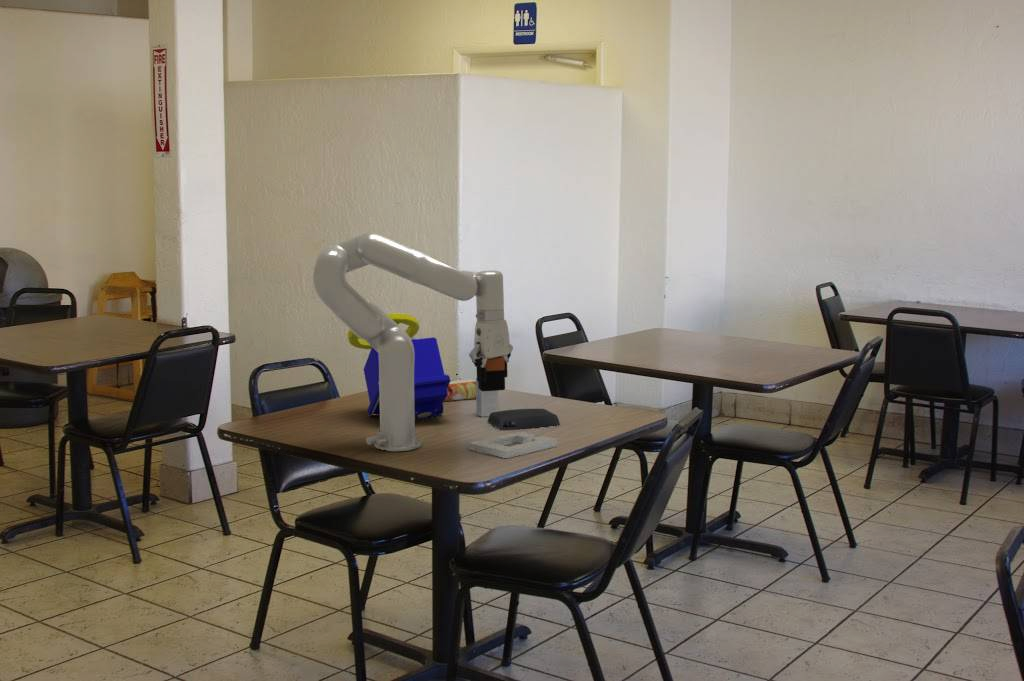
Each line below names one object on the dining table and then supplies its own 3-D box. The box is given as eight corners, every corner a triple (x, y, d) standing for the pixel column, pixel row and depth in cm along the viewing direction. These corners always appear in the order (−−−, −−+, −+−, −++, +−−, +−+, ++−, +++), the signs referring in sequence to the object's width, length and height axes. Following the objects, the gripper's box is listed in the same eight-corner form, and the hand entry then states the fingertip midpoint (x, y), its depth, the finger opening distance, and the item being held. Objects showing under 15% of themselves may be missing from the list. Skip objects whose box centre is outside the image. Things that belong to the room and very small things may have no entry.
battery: (505, 390, 307) (504, 354, 305) (481, 391, 305) (480, 355, 303) (501, 387, 311) (500, 352, 309) (478, 389, 309) (477, 353, 308)
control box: (459, 398, 330) (438, 307, 340) (371, 410, 321) (352, 316, 331) (441, 427, 352) (422, 341, 362) (358, 439, 343) (341, 350, 354)
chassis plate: (505, 458, 292) (505, 451, 292) (469, 450, 302) (469, 442, 302) (556, 446, 306) (556, 439, 306) (520, 438, 316) (520, 431, 316)
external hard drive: (486, 423, 338) (486, 410, 337) (545, 419, 344) (545, 406, 344) (500, 432, 326) (500, 419, 325) (561, 428, 332) (561, 414, 331)
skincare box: (493, 413, 351) (493, 375, 350) (498, 415, 348) (498, 377, 346) (475, 414, 349) (475, 377, 347) (481, 417, 345) (480, 379, 343)
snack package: (424, 405, 366) (423, 384, 365) (417, 401, 372) (416, 381, 371) (483, 399, 375) (483, 379, 374) (475, 396, 381) (475, 376, 380)
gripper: (478, 320, 296) (480, 385, 298) (521, 313, 309) (523, 375, 311) (458, 318, 301) (460, 382, 303) (501, 311, 314) (503, 373, 316)
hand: (492, 378), depth 307 cm, fingers closed on battery, 7 cm apart
